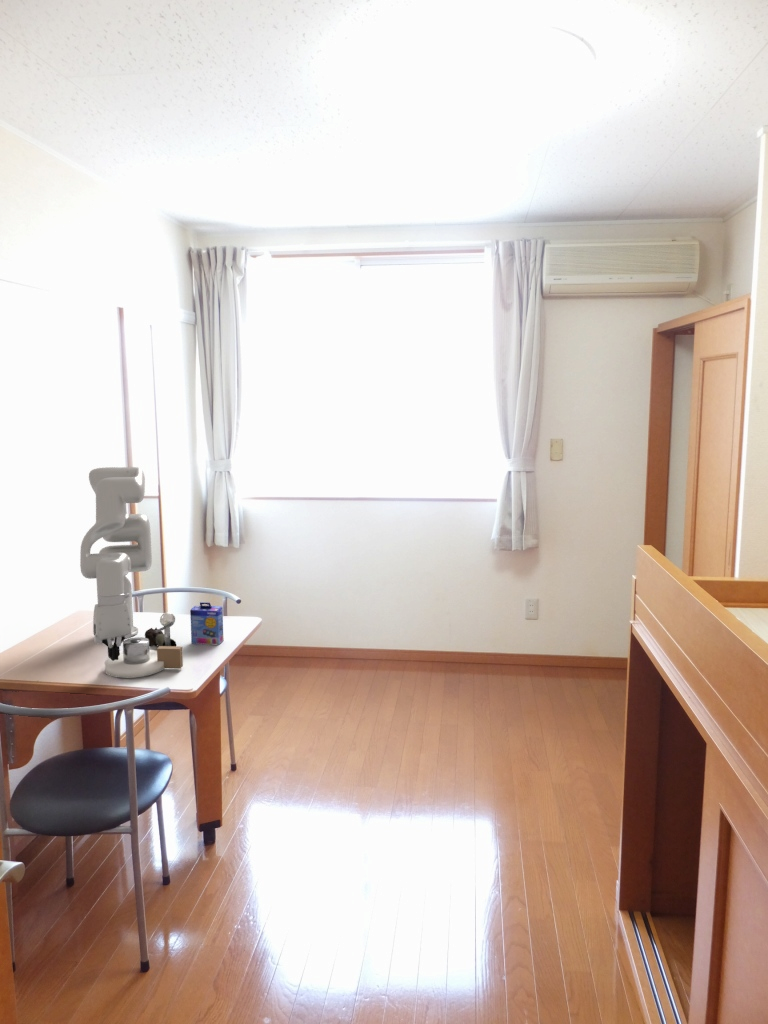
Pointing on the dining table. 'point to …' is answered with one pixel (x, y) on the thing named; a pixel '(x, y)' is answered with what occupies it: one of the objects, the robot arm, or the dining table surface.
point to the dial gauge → (166, 626)
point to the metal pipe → (157, 638)
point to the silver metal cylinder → (136, 650)
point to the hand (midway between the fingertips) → (114, 658)
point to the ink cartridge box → (206, 624)
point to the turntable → (147, 663)
